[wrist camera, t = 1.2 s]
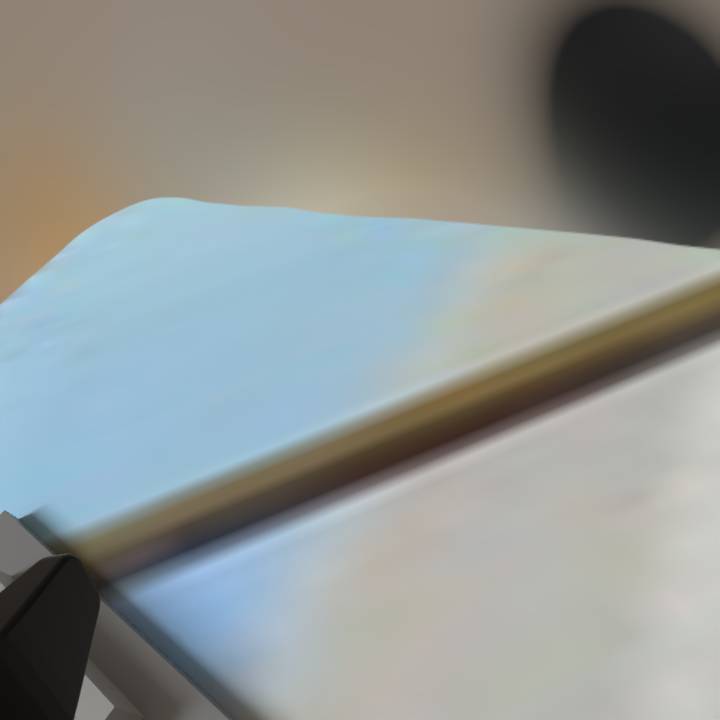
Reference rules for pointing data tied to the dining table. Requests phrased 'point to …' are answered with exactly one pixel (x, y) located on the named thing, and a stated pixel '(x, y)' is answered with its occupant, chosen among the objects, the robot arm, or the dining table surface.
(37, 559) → the socket board
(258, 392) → the dining table surface
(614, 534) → the dining table surface
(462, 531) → the dining table surface
